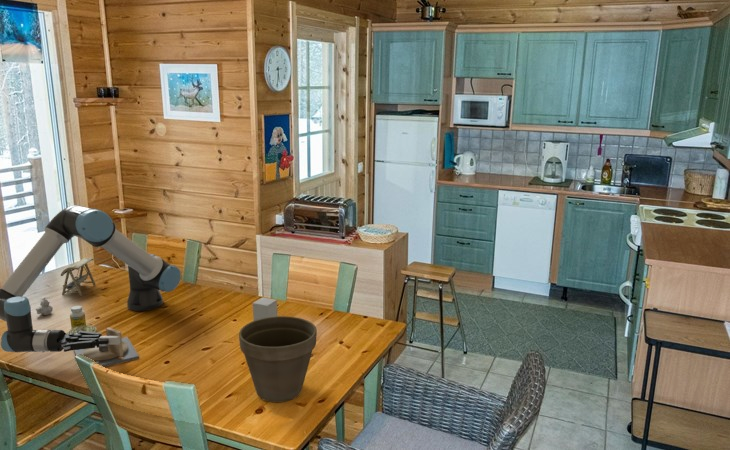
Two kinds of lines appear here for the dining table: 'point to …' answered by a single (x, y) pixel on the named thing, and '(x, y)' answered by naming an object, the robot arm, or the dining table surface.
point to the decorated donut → (83, 329)
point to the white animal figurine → (44, 307)
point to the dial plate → (127, 356)
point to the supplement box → (264, 308)
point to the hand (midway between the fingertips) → (119, 340)
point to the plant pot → (278, 355)
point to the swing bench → (76, 280)
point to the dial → (107, 348)
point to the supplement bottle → (77, 317)
